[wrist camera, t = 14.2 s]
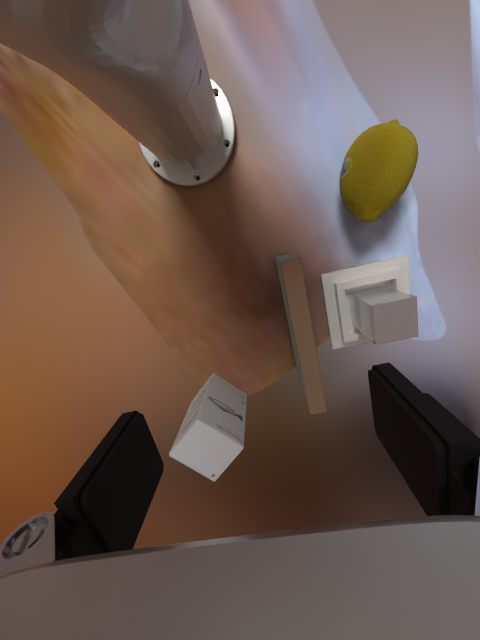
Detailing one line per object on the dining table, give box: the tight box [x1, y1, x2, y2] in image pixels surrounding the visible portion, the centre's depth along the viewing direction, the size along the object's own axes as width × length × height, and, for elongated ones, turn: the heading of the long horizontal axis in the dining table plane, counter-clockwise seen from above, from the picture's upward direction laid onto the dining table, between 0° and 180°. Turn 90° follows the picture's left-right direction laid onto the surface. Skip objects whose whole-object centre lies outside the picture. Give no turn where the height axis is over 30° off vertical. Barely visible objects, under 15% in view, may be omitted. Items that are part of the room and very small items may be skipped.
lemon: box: [340, 120, 418, 222], centre depth 31 cm, size 11×8×8 cm
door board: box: [275, 254, 327, 415], centre depth 36 cm, size 20×2×10 cm, turn 13°
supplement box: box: [169, 372, 247, 482], centre depth 39 cm, size 7×7×13 cm
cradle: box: [321, 255, 410, 350], centre depth 38 cm, size 12×12×2 cm
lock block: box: [349, 285, 418, 344], centre depth 35 cm, size 5×5×8 cm
